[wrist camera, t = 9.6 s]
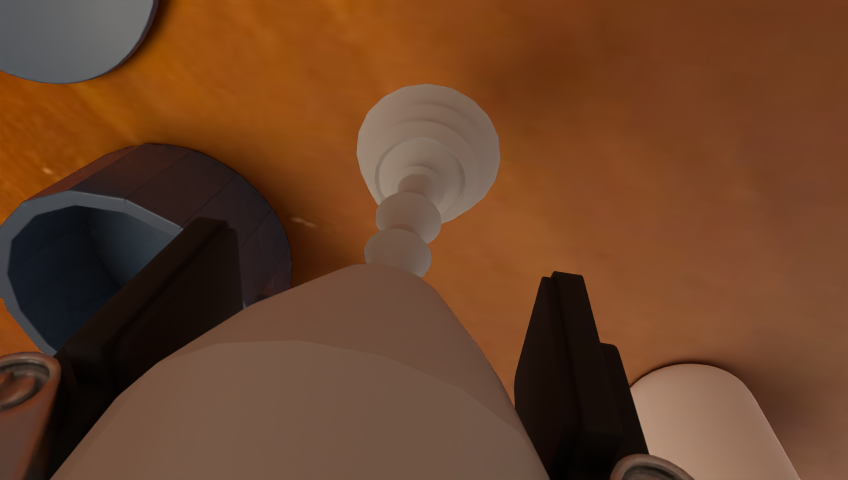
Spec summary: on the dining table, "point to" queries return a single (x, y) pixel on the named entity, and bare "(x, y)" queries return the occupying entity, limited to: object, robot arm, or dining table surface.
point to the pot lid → (70, 37)
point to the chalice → (341, 347)
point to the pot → (127, 235)
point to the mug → (708, 425)
